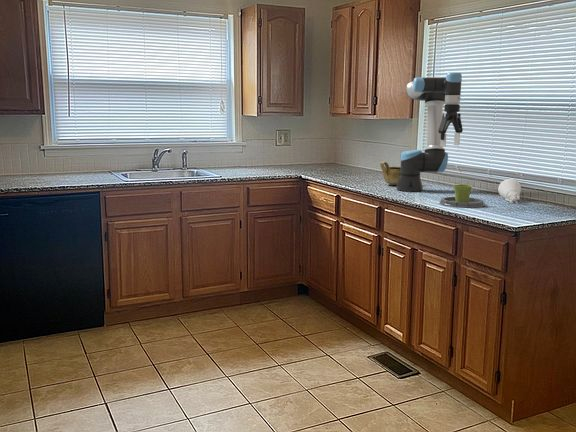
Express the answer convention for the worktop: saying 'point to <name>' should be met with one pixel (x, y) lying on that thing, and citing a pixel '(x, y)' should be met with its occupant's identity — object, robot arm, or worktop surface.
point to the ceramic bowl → (390, 173)
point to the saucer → (471, 203)
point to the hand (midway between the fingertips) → (449, 146)
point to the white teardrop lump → (510, 190)
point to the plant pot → (462, 193)
